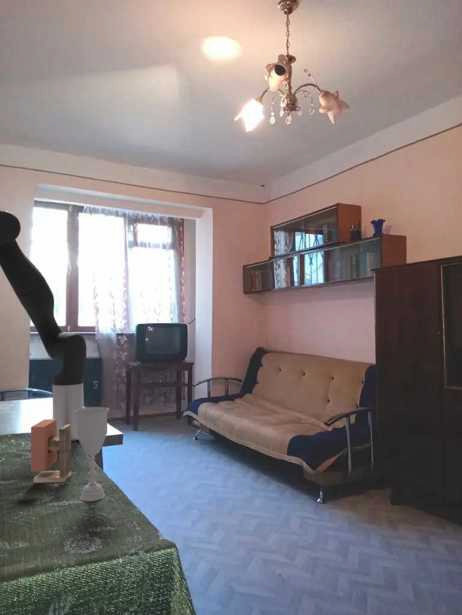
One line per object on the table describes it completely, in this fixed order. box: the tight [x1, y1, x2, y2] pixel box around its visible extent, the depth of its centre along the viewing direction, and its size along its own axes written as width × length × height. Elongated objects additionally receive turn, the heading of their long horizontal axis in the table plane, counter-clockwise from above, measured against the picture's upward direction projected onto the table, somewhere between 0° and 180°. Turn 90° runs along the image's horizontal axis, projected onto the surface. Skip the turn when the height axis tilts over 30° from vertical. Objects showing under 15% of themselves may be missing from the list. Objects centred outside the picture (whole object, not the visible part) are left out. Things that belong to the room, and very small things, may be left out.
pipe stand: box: [32, 424, 72, 484], centre depth 108 cm, size 5×7×12 cm
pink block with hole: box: [30, 418, 58, 473], centre depth 108 cm, size 8×3×10 cm, turn 2°
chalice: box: [74, 406, 110, 502], centre depth 97 cm, size 7×7×18 cm
